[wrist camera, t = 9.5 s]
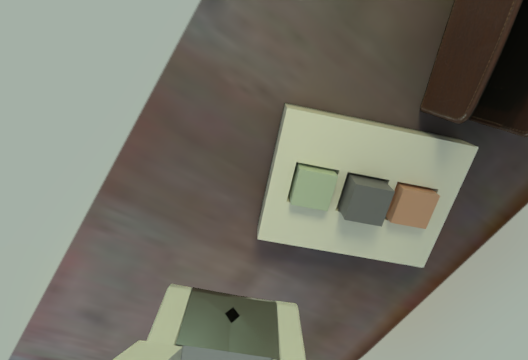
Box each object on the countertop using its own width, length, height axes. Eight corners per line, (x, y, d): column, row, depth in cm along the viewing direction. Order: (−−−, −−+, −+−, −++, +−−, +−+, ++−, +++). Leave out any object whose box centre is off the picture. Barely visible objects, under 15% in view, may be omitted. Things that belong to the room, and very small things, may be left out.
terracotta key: (392, 178, 36) (403, 188, 33) (426, 184, 36) (440, 196, 34) (381, 210, 37) (390, 222, 35) (413, 216, 38) (425, 229, 35)
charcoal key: (348, 173, 34) (356, 184, 32) (384, 180, 35) (395, 191, 32) (337, 206, 36) (344, 219, 33) (372, 213, 36) (381, 226, 33)
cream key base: (284, 102, 35) (286, 107, 31) (459, 138, 36) (478, 147, 33) (257, 224, 40) (257, 239, 37) (410, 250, 41) (423, 267, 38)
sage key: (296, 159, 35) (299, 169, 32) (332, 166, 35) (338, 176, 33) (288, 192, 37) (290, 204, 34) (322, 199, 37) (327, 211, 34)
